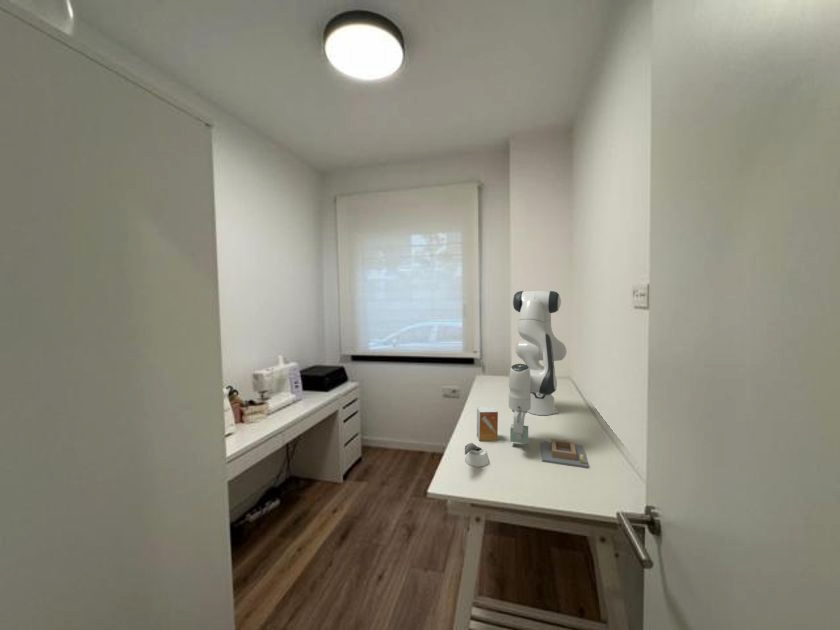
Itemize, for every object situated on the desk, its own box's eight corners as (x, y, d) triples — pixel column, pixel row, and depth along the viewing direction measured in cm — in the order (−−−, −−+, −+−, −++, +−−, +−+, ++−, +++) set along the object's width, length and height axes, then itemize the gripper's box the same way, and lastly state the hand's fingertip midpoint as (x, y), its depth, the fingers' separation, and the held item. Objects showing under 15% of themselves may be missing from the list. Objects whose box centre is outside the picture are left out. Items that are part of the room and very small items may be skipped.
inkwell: (491, 458, 134) (491, 433, 134) (479, 481, 118) (480, 452, 117) (468, 453, 138) (468, 429, 137) (454, 475, 122) (454, 447, 121)
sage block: (511, 437, 148) (511, 424, 147) (528, 439, 145) (528, 426, 145) (510, 441, 144) (510, 427, 143) (527, 443, 142) (527, 429, 141)
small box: (479, 441, 149) (479, 412, 149) (476, 435, 156) (476, 407, 155) (497, 440, 150) (498, 411, 149) (494, 435, 156) (494, 406, 155)
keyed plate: (541, 442, 148) (541, 433, 148) (582, 447, 143) (582, 438, 143) (542, 461, 131) (542, 451, 131) (588, 468, 126) (588, 458, 126)
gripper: (526, 412, 133) (526, 447, 134) (528, 397, 152) (527, 427, 153) (509, 411, 135) (509, 445, 136) (513, 395, 154) (513, 425, 155)
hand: (519, 435), depth 144 cm, fingers closed on sage block, 4 cm apart
